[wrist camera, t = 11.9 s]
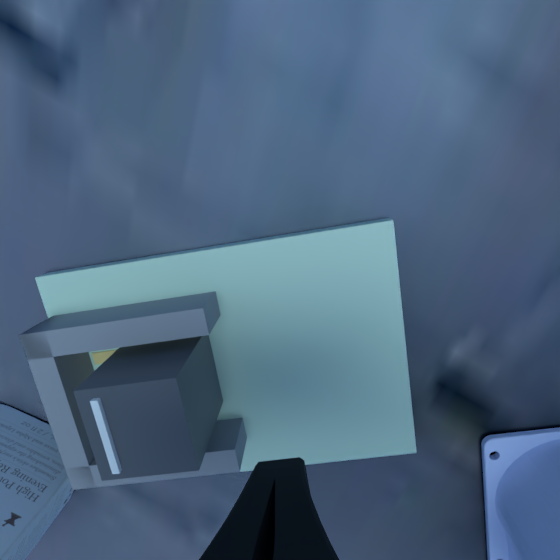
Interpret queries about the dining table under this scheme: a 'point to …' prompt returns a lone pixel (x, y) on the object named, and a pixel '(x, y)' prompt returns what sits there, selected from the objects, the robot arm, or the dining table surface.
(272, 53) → the dining table surface
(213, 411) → the plug
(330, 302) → the board
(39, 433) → the skincare box
